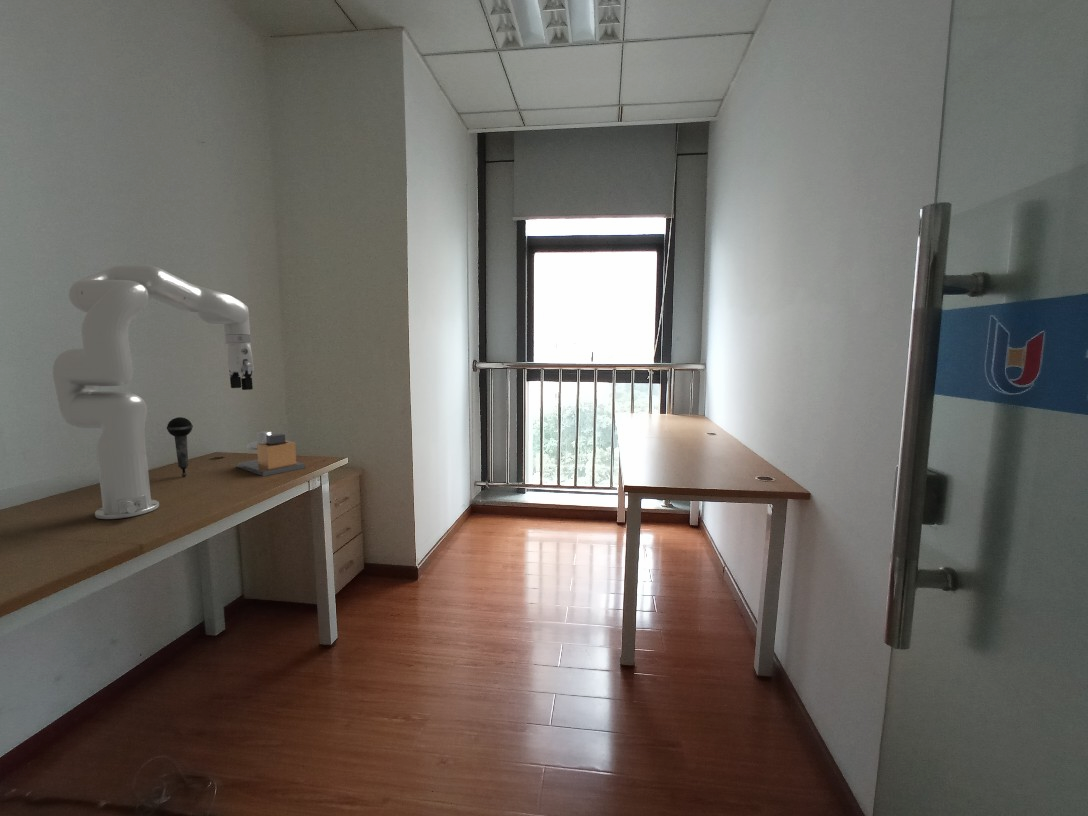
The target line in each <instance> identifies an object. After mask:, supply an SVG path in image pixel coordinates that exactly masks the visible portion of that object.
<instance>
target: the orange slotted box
mask: <svg viewBox="0 0 1088 816" xmlns="http://www.w3.org/2000/svg"><path fill="white" fill-rule="evenodd" d="M266 435H273V431H271V430H262V431H258V432H256V441H252V442H248V443H247V444H246V448H247V449H248V450H257V451H256V452H257V453H256V454H257V459H252V460H247V461H240V462H237V466H236V467H237V468H239V469H242V470H245V471H248V472H251V473H253V474H256V475H259V476H262V477H265V476H271V475H276V474H281V473H286V472H290V471H295V470H302V469H304V468H305V467H306V465H305V463H303V462H299V461H297V451H296V448H297V447H296V442H294V441H290V440H287V439H285V443H284V444H277V445H271V446H269V445H267V440H266Z"/></svg>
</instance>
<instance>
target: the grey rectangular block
mask: <svg viewBox="0 0 1088 816" xmlns="http://www.w3.org/2000/svg"><path fill="white" fill-rule="evenodd" d="M266 440H267V445H269V446H271V445H277V444H284V443H285V440H286V434H284V433H276V434H272V435H266Z"/></svg>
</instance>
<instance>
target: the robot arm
mask: <svg viewBox="0 0 1088 816" xmlns="http://www.w3.org/2000/svg"><path fill="white" fill-rule="evenodd" d="M68 298H69V301H70V302H71V304H72V305H73V306H74V307H75V308H76V309H77V310H79V311H81V312H84V313H86V314H85V315H84V317H83V319H82V322H81V326H80V327H81V328H80V329H81V339H82V347H81V348H80V347H79V348H78V347H77V348H69V349H67V350H63V351H62V352H61V353H59V354H58V355H57V357H55V359H54V362H53V366H52V377H53V382H54V387H55V393H56V396H57V404H58V407H59V412H60V414H61V416H62V418H63V420H64V421H65V422H66V423H67V424H69V425H71V426H72V427H76V428H79V429H101V430H102V431H101V433H100V435H99V436H98V439H97V441H96V447H95V451H96V459H97V469H98V476H99V477H98V478H99V486H100V495H101V496H100V497H101V503H102V507H101V508H99V509H97V510H96V511H95V512H94V516H95V518H96V519H100V520H117V519H124V518H131V517H132V518H133V517H136V516H140V515H144V514H147V513H150V512H152V511H155V510H156V509H158V508H159V506H160V502H159V501H158V500H156V499H152V497H151V488H150V484H151V483H150V476H149V466H148V454H147V447H146V423H147V418H148V407H147V403H146V402H145V400H144V399H143V398H142V397H141V396H139V395H138V394H135V393H133V392H129V391H119V390H118V391H114V390H113V391H112V390H111V391H110V390H103V391H102V390H101V391H100V390H99V387H120V386H124V385H127V384H128V383H130V382H131V381H132V379H133V378H134V377H133V376H134V366H133V359H132V354H131V347H130V340H129V328H130V324H131V322H132V320H133V319H134V318H135V317H136V316H137V315H138V314H139V313H140V312H141V311H142V310H144V309H145V308H146V307H147V305H148V302H149V298H150V299H153V300H156V301H159V302H160V303H163V304H166V305H167V306H170V307H172V308H175V309H177V310H180V311H186V312H189V313H190V312H191V313H198V317H199V318H200V320H201V321H203V322H205V323H206V324H209V325H223V329H224V342H225V345H227V365H228V371H229V380H230V388H231V389H240V388H241V390H243V391H247V390H250V391H251V390H253V387H254V386H253V372H254V371H255V368H254V366H255V364H254V359H253V358H254V357H253V352H252V346H251V344H252V341H251V340H252V339H251V337H252V336H251V326H250V314H249V313H250V312H249V311H250V310H249V307H248V305H246V304H245V303H243V302H242V301H241V300H240V299H238V298H236V297H234V296H232V295H230V294H227V293H224V292H221V291H217V290H214V289H211V288H208V287H207V288H206V287H203V286H200V285H197V284H193V283H190V282H188V281H187V280H185V279H183V278H180V277H179V276H177V275H174V274H172V273H170V272H169V271H167V270H165V269H162V268H160V267H158V266H154V265H150V264H148V265H147V264H119V265H116V266H112V267H109V268H106V269H103V270H100V271H98V272H95V273H94V274H91V275H88V276H85V277H82V278H80V279H78V280H76V281H75V282H74V283H73V284H72V285H71V286H70V288H69V289H68Z"/></svg>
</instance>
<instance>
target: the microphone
mask: <svg viewBox="0 0 1088 816" xmlns="http://www.w3.org/2000/svg"><path fill="white" fill-rule="evenodd" d="M193 427H194V425H193V424H192V422H191V421H190V420H189V419H188V418H186V417H180V416H178V417H175V418H173V419H171V420H170V421H169V422H168V423H167V426H166V430H167V432H168V433H169V434H170V435H171V436H173V438H174V443H175V450H176V457H177V464H178V465H177V466H178V468H180V470H181V471H182V474H181V476H182V477H183V478H184V477H187V473H186V469H187V468H188V467H189V456H188V454H189V453H188V452H189V451H188V435H189V434H190V433H191V432H192V430H193Z"/></svg>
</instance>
